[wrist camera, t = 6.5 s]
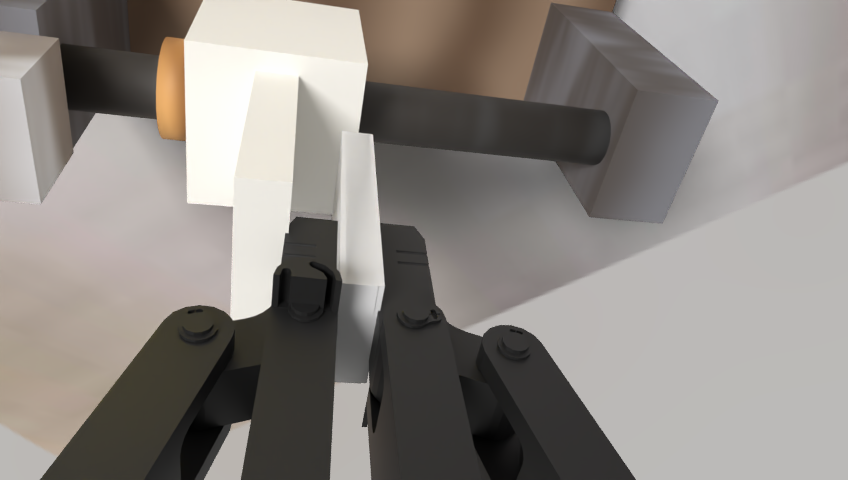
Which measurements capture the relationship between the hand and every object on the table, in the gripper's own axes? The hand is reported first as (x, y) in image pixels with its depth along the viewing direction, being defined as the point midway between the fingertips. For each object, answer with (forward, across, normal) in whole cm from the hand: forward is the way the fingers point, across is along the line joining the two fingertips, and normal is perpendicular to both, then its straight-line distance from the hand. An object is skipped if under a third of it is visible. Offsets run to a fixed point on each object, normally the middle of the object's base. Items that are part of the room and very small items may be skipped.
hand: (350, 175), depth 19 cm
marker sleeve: (+7, +2, 0) cm, 8 cm away
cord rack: (+15, 0, 0) cm, 15 cm away
